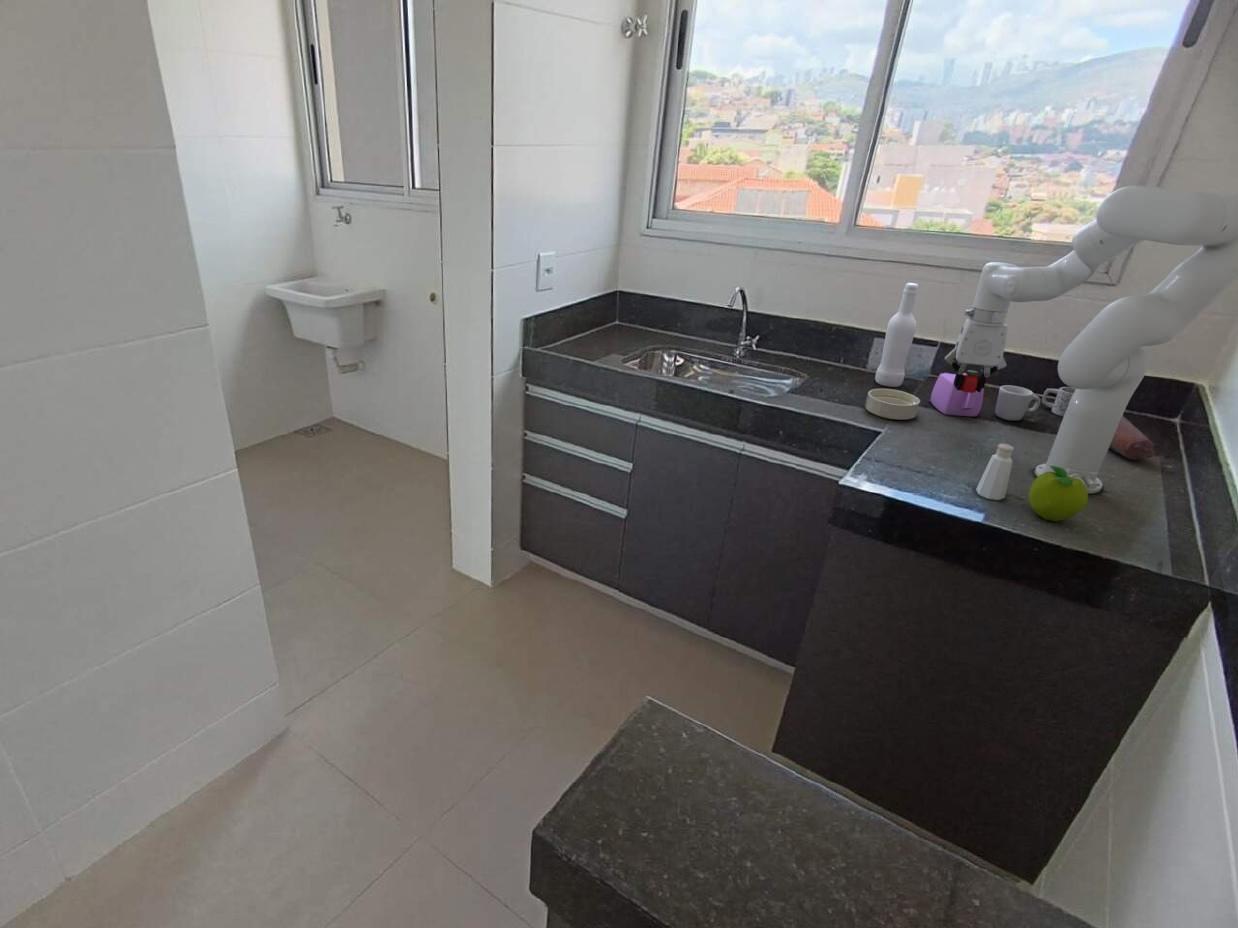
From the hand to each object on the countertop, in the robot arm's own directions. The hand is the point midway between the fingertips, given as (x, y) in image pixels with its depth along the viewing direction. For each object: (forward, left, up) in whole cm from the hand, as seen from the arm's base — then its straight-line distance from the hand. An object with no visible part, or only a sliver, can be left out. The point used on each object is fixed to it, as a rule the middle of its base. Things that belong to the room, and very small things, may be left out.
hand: (967, 389), depth 164 cm
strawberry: (0, 0, 0) cm, 0 cm away
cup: (+14, -18, -11) cm, 25 cm away
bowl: (+6, +15, -11) cm, 20 cm away
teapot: (+16, -3, -11) cm, 20 cm away
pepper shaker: (-38, +1, -11) cm, 39 cm away
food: (+2, -36, -11) cm, 37 cm away
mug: (+25, -33, -11) cm, 43 cm away
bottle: (+33, +12, -11) cm, 37 cm away
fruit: (-45, -8, -11) cm, 47 cm away
